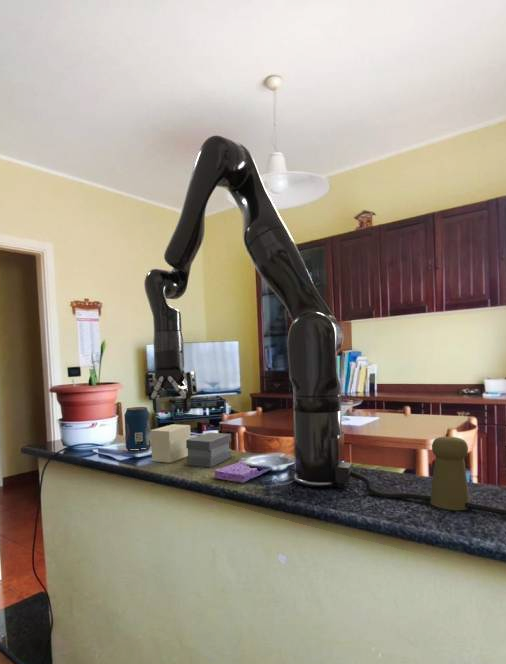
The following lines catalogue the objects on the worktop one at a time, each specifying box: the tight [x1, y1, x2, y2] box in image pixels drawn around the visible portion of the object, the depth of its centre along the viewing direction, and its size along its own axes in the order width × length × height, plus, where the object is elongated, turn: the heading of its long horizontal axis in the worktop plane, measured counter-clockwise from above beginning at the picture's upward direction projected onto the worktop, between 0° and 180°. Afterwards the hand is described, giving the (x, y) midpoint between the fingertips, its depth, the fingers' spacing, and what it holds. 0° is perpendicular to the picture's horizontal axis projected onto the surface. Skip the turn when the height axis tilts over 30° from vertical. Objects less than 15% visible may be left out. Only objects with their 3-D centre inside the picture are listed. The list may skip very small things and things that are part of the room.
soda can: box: [123, 406, 151, 454], centre depth 120 cm, size 7×7×12 cm
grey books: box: [186, 432, 232, 468], centre depth 105 cm, size 7×11×6 cm, turn 153°
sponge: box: [214, 459, 272, 483], centre depth 92 cm, size 7×13×2 cm, turn 145°
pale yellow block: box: [150, 423, 191, 442], centre depth 110 cm, size 6×10×3 cm, turn 153°
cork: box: [428, 436, 471, 511], centre depth 70 cm, size 6×6×11 cm
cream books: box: [150, 435, 191, 464], centre depth 110 cm, size 6×10×5 cm, turn 153°
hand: (171, 413), depth 110 cm, fingers open, 8 cm apart
